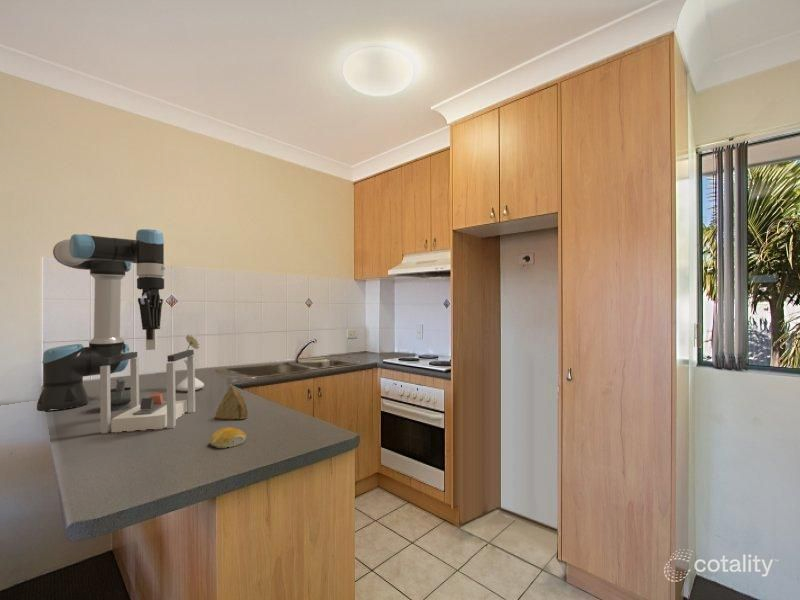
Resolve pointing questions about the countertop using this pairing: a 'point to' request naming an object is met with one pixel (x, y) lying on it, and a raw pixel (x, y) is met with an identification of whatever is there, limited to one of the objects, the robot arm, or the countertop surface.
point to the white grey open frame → (136, 416)
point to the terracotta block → (157, 398)
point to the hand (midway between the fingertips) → (151, 349)
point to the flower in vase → (184, 384)
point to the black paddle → (147, 403)
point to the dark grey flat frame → (134, 354)
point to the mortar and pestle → (120, 395)
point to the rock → (232, 406)
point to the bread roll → (227, 437)
